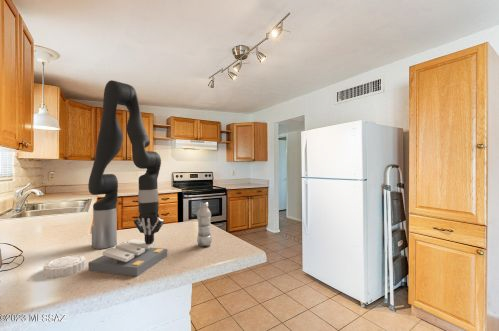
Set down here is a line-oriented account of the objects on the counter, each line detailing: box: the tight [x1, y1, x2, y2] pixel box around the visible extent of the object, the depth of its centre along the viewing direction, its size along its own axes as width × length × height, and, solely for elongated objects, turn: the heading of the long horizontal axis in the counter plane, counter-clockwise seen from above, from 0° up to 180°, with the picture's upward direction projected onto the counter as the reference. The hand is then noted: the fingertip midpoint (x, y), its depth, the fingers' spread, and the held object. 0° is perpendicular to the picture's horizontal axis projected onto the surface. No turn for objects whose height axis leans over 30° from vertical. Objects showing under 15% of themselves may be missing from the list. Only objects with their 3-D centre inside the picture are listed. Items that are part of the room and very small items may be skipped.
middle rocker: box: [114, 242, 145, 255], centre depth 91 cm, size 10×4×1 cm, turn 77°
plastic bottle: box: [196, 201, 213, 247], centre depth 110 cm, size 6×7×20 cm
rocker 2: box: [126, 238, 156, 248], centre depth 97 cm, size 10×4×1 cm, turn 77°
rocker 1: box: [102, 247, 135, 262], centre depth 86 cm, size 10×4×1 cm, turn 77°
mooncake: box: [43, 255, 87, 279], centre depth 86 cm, size 12×12×4 cm
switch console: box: [87, 247, 168, 277], centre depth 91 cm, size 20×18×4 cm
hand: (149, 243), depth 96 cm, fingers closed
